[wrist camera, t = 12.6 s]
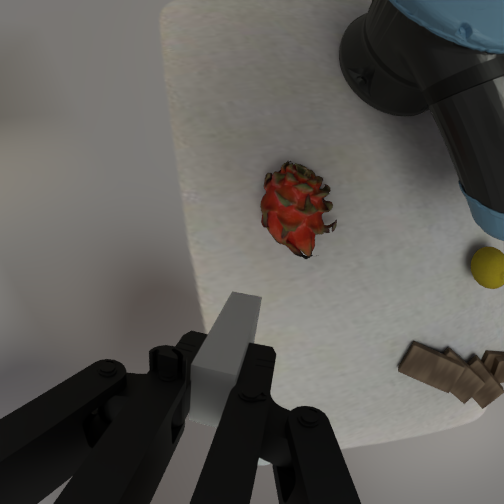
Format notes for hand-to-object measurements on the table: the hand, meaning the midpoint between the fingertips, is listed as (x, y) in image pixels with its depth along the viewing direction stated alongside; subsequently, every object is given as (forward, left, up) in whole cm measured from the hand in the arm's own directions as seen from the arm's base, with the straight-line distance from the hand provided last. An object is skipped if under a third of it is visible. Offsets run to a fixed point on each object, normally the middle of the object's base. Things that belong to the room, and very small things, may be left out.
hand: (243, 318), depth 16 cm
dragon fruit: (-3, +2, -27) cm, 27 cm away
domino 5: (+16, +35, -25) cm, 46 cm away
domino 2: (+16, +29, -25) cm, 42 cm away
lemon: (-1, +30, -27) cm, 40 cm away
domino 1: (+16, +23, -26) cm, 38 cm away
